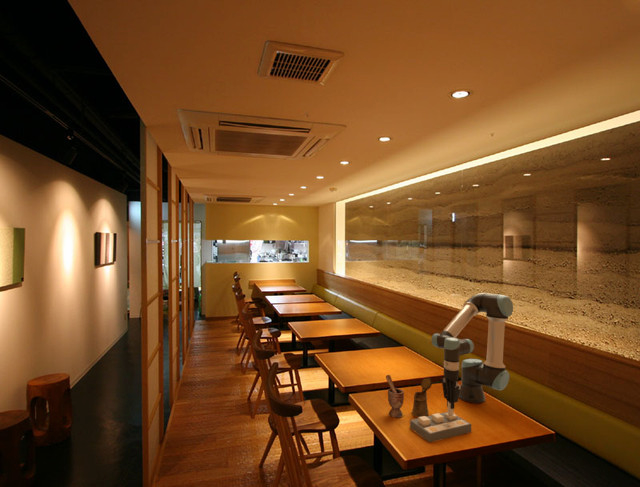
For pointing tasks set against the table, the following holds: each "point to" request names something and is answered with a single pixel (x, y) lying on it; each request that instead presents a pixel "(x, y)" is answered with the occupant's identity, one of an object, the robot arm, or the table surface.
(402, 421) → the table surface
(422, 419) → the button
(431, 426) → the button panel
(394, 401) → the mortar and pestle
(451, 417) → the button
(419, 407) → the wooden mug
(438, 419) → the button middle
